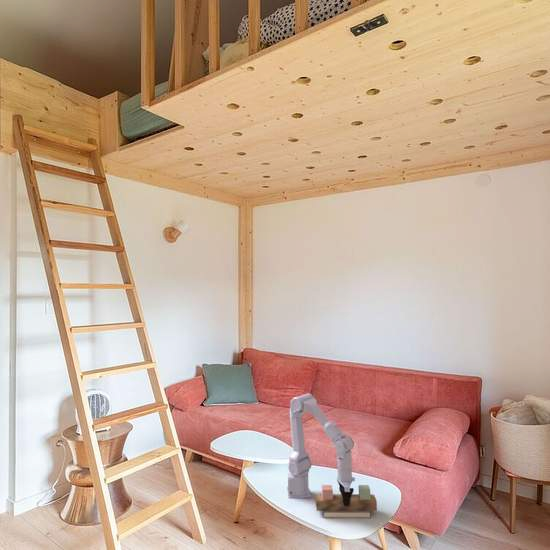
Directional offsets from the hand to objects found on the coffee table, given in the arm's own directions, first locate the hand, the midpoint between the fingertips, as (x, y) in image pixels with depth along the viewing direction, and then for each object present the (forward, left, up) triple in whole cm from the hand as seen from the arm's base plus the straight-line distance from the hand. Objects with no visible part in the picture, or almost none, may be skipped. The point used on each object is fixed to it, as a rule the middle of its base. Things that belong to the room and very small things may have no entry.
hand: (345, 501), depth 163 cm
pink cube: (-7, 0, +2) cm, 7 cm away
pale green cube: (+8, 0, +2) cm, 8 cm away
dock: (0, 0, -4) cm, 4 cm away
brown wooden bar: (0, 0, -2) cm, 2 cm away
